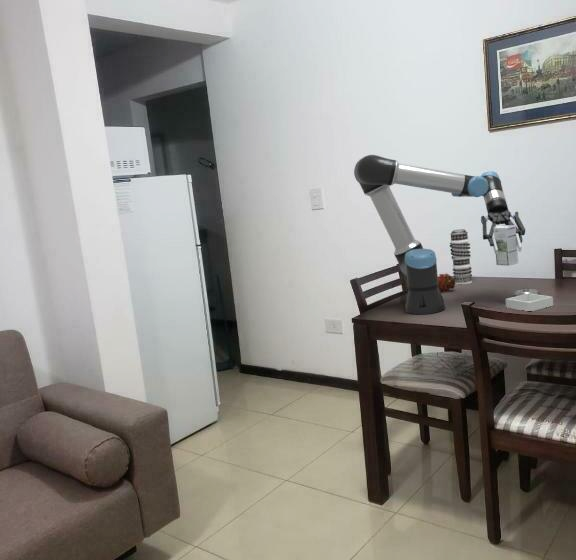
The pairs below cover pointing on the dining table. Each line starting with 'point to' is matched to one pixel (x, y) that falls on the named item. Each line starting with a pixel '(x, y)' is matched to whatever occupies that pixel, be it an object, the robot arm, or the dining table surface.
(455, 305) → the dining table surface
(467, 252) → the decorative candle
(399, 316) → the dining table surface
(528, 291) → the desk bell
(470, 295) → the dining table surface
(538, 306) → the tray
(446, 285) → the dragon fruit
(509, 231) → the syrup box
